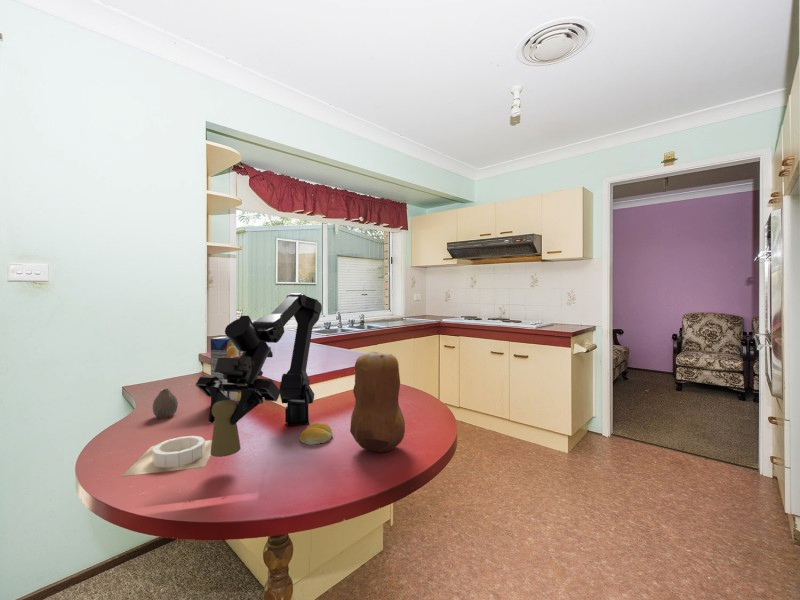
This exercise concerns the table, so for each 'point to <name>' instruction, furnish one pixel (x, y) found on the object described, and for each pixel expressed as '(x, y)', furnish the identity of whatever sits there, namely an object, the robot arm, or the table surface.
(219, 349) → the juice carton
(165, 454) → the cream collar
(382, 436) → the butternut squash
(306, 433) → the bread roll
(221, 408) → the cork
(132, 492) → the table surface
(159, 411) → the brown fig
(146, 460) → the oak board
